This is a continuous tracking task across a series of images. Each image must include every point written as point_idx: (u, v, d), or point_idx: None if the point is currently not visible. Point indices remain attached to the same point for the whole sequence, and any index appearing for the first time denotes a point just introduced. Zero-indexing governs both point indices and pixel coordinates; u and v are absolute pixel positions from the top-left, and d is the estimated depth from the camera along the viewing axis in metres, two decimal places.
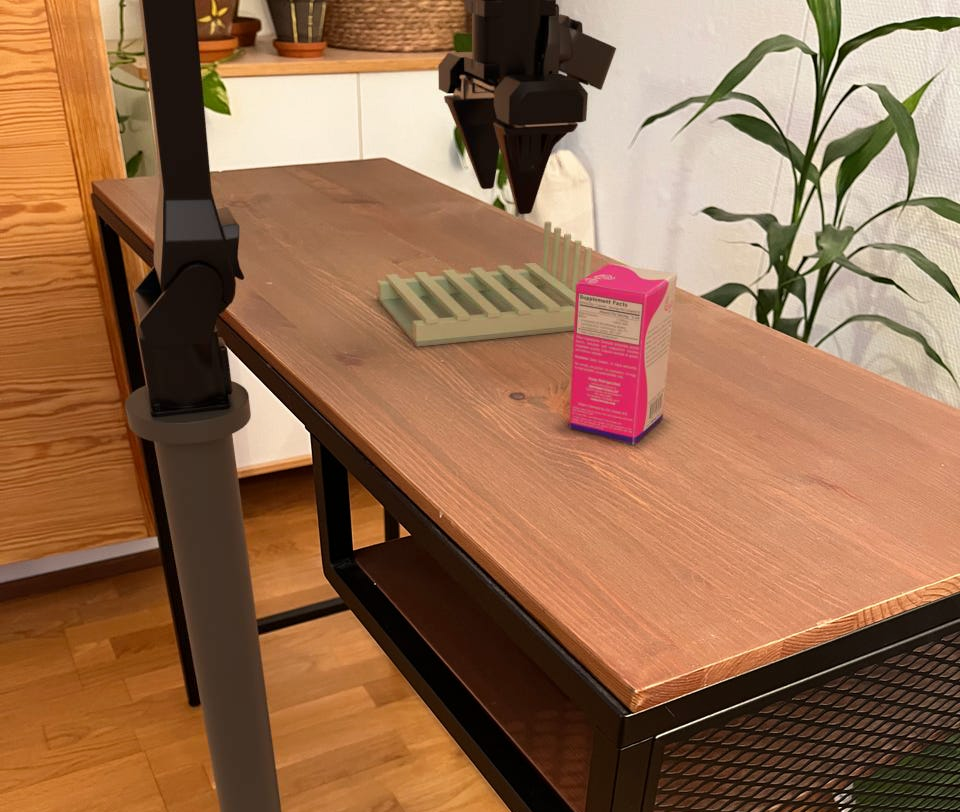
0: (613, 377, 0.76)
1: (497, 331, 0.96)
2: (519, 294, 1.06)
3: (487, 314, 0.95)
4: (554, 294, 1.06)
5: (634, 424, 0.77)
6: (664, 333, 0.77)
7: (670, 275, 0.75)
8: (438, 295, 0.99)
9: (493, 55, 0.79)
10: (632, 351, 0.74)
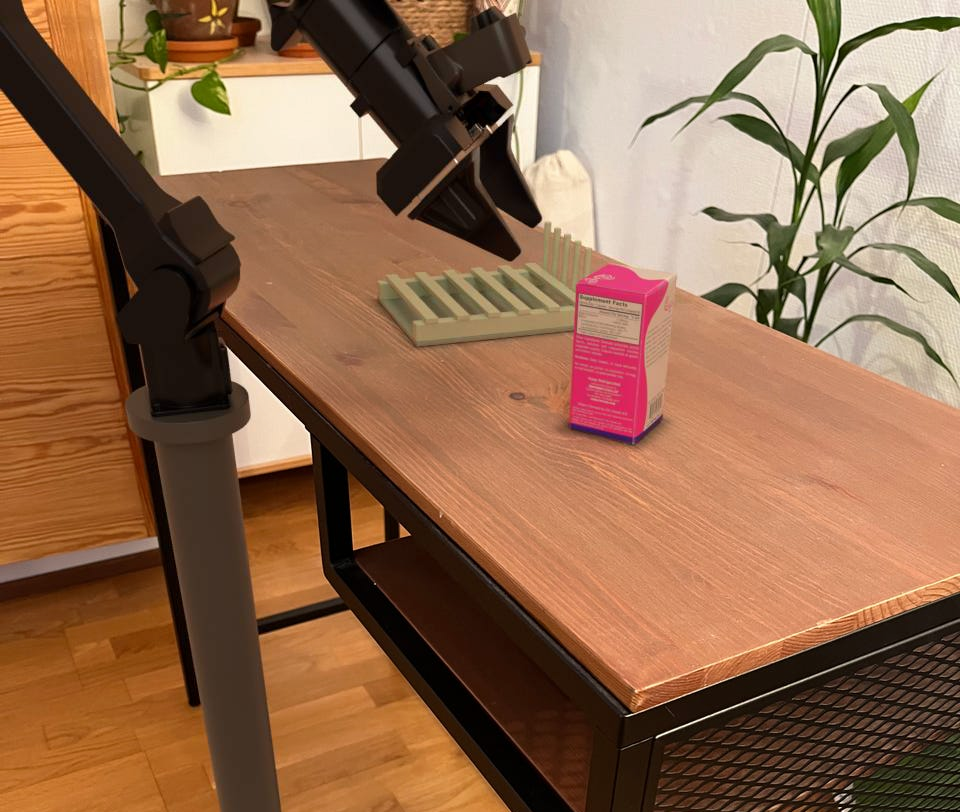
0: (613, 377, 0.76)
1: (497, 331, 0.96)
2: (519, 294, 1.06)
3: (487, 314, 0.95)
4: (554, 294, 1.06)
5: (634, 424, 0.77)
6: (664, 333, 0.77)
7: (670, 275, 0.75)
8: (438, 295, 0.99)
9: (395, 138, 0.71)
10: (632, 351, 0.74)
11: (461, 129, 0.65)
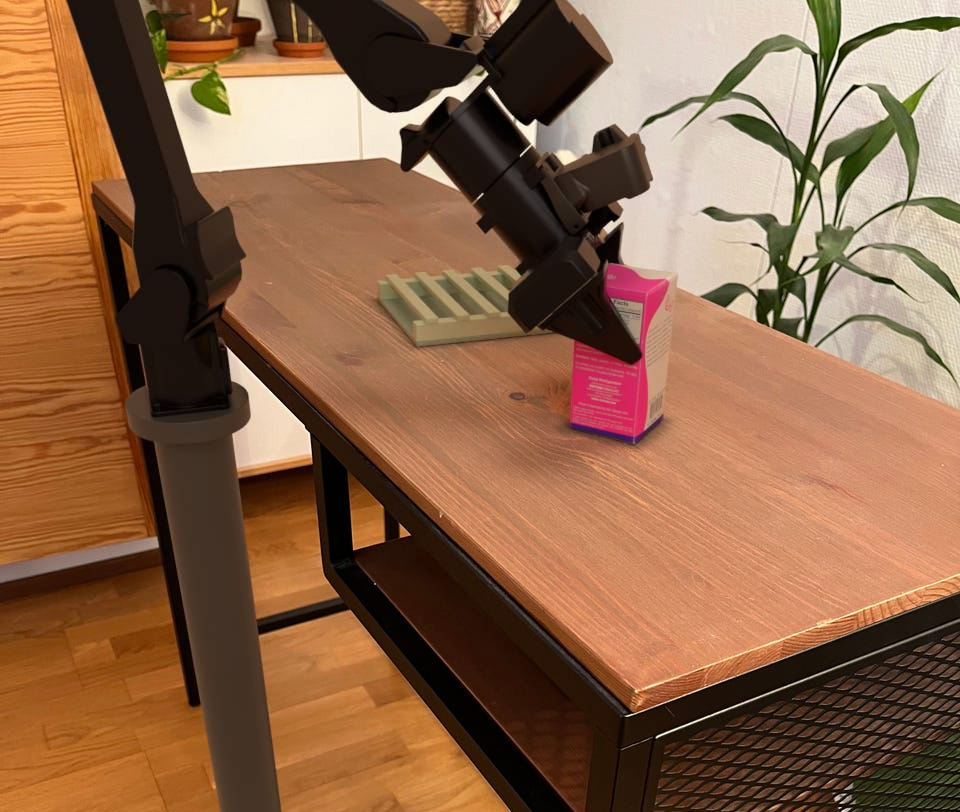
0: (613, 376, 0.76)
1: (497, 331, 0.96)
2: None
3: (487, 314, 0.95)
4: None
5: (634, 423, 0.77)
6: (665, 332, 0.77)
7: (671, 275, 0.75)
8: (438, 295, 0.99)
9: (519, 253, 0.73)
10: None
11: (591, 251, 0.68)
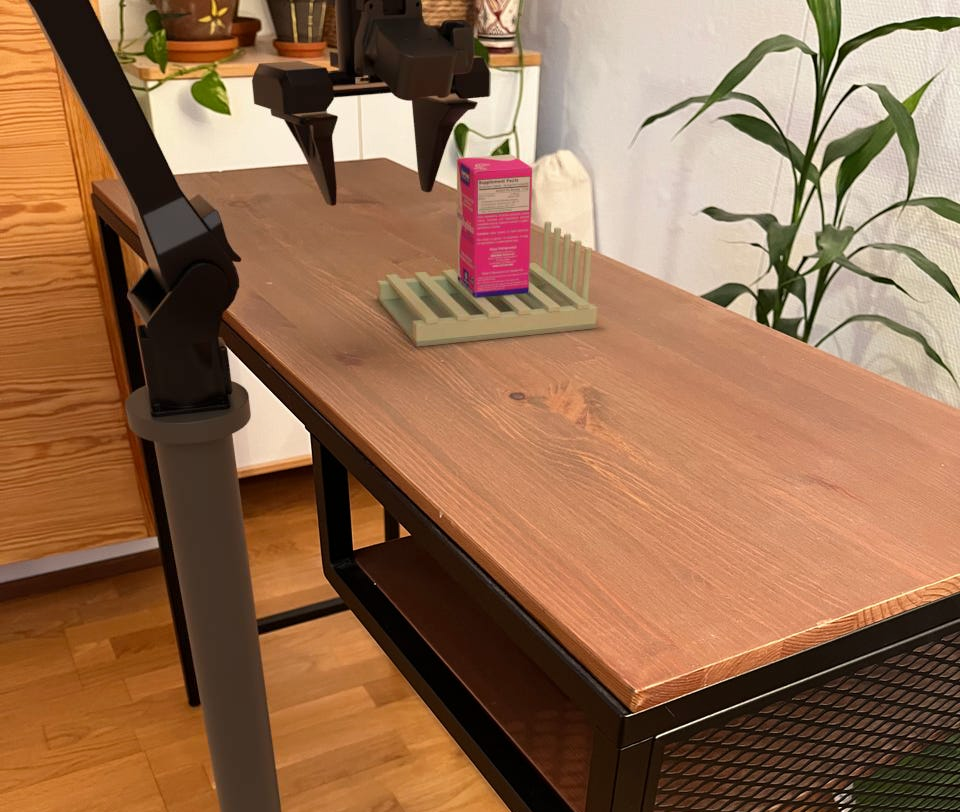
0: (510, 242, 0.96)
1: (497, 331, 0.96)
2: (519, 294, 1.06)
3: (487, 314, 0.95)
4: (554, 294, 1.06)
5: (528, 276, 0.99)
6: None
7: None
8: (438, 295, 0.99)
9: None
10: (524, 216, 0.95)
11: (323, 97, 0.76)
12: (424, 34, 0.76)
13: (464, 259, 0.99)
